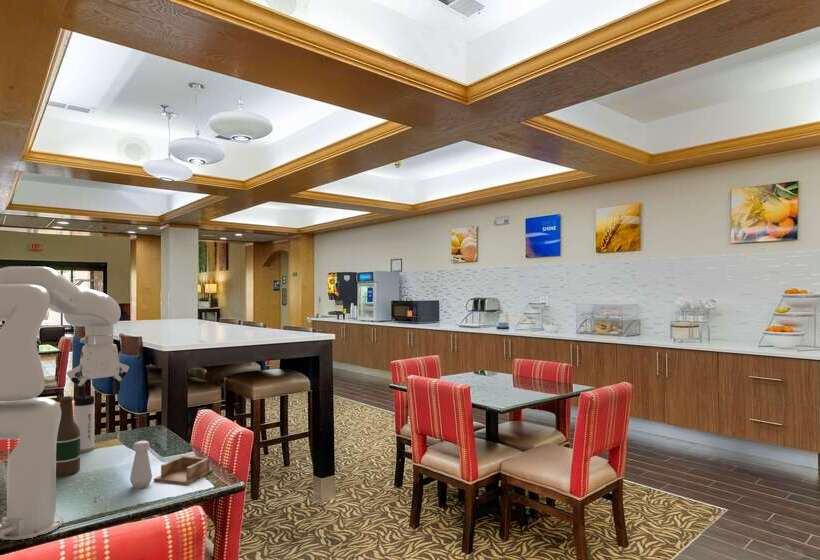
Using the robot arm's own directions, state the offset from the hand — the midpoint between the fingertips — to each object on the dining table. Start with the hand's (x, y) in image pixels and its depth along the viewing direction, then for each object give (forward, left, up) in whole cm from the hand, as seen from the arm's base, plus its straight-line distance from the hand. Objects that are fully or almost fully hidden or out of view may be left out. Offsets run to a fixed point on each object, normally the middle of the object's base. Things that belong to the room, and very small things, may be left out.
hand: (98, 395), depth 160 cm
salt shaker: (-3, -18, -25) cm, 31 cm away
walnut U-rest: (+7, -25, -25) cm, 37 cm away
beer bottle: (0, +14, -25) cm, 29 cm away
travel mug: (+20, +29, -25) cm, 43 cm away
